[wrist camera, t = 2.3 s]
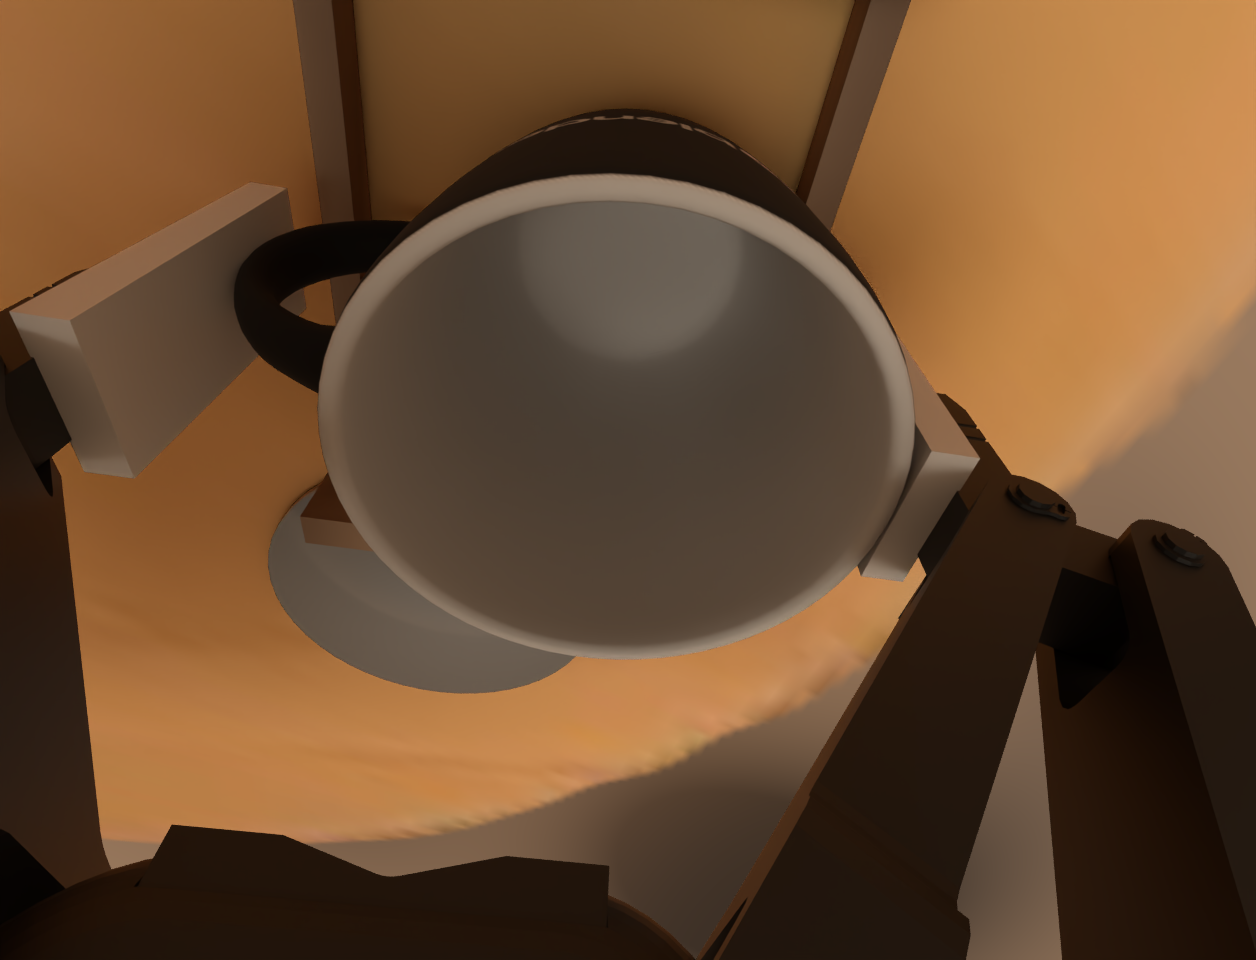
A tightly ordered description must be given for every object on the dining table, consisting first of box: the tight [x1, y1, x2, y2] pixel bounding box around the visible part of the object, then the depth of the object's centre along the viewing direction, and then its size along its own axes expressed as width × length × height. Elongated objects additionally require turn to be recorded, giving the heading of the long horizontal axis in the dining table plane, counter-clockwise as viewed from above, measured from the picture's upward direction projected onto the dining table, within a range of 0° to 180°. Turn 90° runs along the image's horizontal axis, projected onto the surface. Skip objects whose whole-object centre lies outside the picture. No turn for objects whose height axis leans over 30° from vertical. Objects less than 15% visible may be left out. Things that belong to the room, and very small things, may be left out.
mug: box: [234, 109, 915, 659], centre depth 14 cm, size 12×9×10 cm
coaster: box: [268, 483, 576, 693], centre depth 26 cm, size 13×13×1 cm
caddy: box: [293, 0, 911, 552], centre depth 16 cm, size 13×16×5 cm
